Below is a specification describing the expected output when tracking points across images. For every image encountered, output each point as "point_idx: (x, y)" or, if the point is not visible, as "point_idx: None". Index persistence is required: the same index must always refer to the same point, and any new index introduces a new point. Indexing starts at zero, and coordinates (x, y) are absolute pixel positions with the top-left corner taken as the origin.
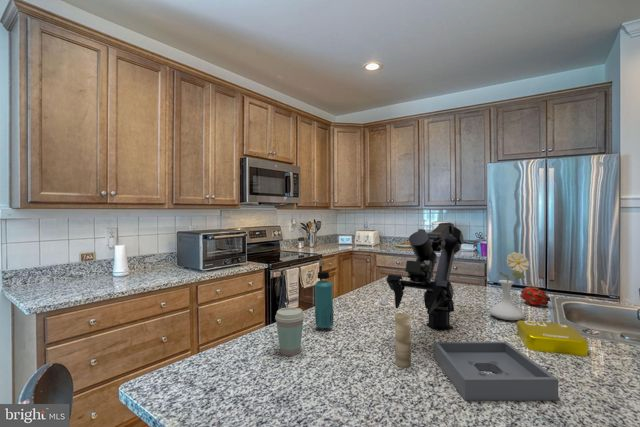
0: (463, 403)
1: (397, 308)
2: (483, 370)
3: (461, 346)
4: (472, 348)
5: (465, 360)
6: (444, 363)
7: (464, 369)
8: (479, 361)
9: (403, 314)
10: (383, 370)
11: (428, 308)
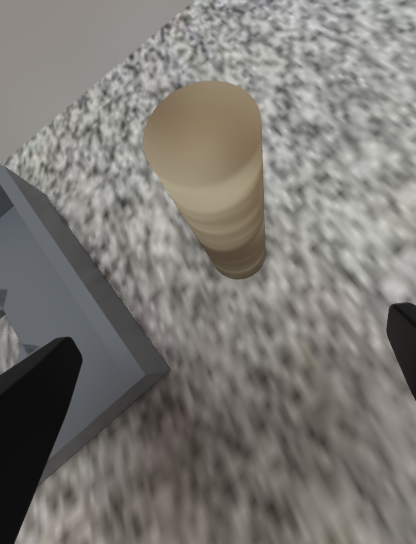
0: (46, 182)
1: (386, 329)
2: None
3: None
4: None
5: None
6: (94, 279)
7: (41, 293)
8: None
9: (206, 152)
10: (265, 174)
11: (36, 357)
